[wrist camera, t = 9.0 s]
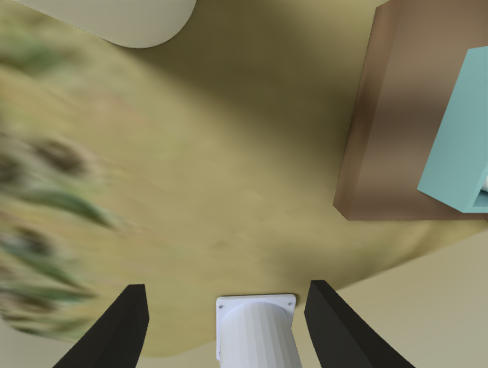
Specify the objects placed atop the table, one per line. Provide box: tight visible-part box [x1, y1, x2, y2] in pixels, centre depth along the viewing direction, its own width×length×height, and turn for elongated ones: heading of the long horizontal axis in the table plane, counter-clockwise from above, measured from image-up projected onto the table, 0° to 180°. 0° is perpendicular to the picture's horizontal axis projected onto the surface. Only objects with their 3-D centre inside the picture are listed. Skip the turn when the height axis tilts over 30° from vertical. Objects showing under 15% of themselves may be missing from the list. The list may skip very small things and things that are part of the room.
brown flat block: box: [333, 0, 488, 220], centre depth 16 cm, size 14×13×4 cm
